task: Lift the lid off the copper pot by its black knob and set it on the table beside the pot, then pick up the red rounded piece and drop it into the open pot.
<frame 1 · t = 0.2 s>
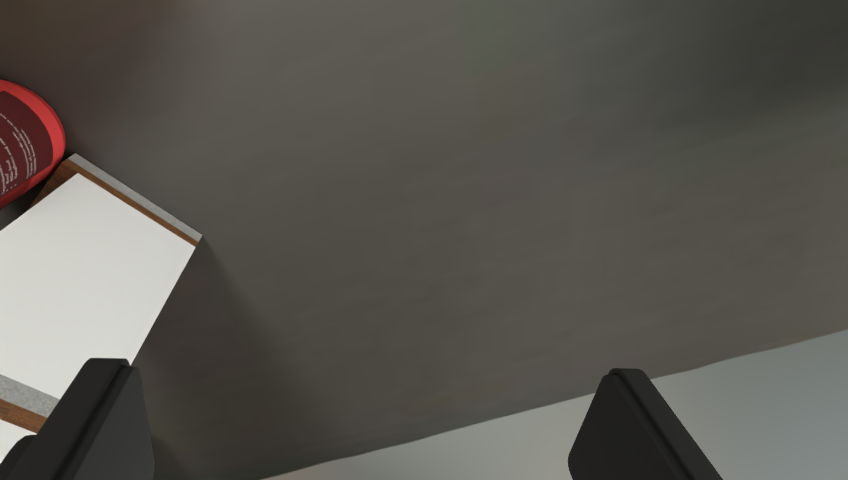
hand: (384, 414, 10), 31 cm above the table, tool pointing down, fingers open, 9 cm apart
canned food: (11, 129, 35), on the table
white shelf unit: (105, 242, 40), on the table
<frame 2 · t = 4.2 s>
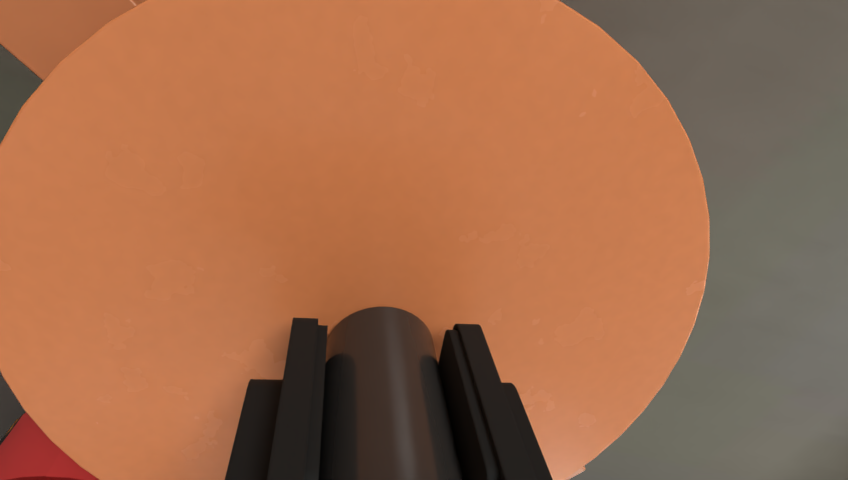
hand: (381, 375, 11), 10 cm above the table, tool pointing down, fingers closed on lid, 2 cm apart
pot: (367, 196, 20), on the table
canned food: (113, 434, 24), on the table
lid: (378, 332, 12), point 9 cm above the table, touching gripper, pot
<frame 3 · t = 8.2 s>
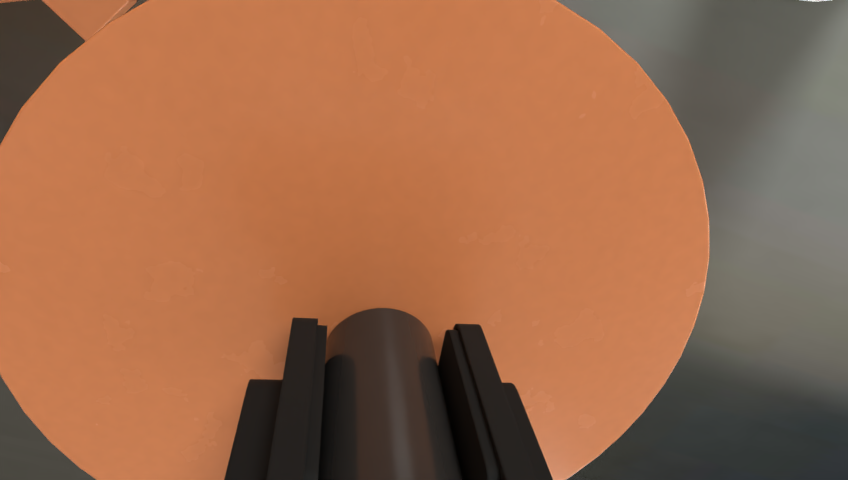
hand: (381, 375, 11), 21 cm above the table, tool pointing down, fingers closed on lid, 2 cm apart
lid: (377, 333, 12), point 20 cm above the table, touching gripper
when the fingers open (2 cm above the table, at t = 12.5 s): lid stays where it is, point 1 cm above the table.
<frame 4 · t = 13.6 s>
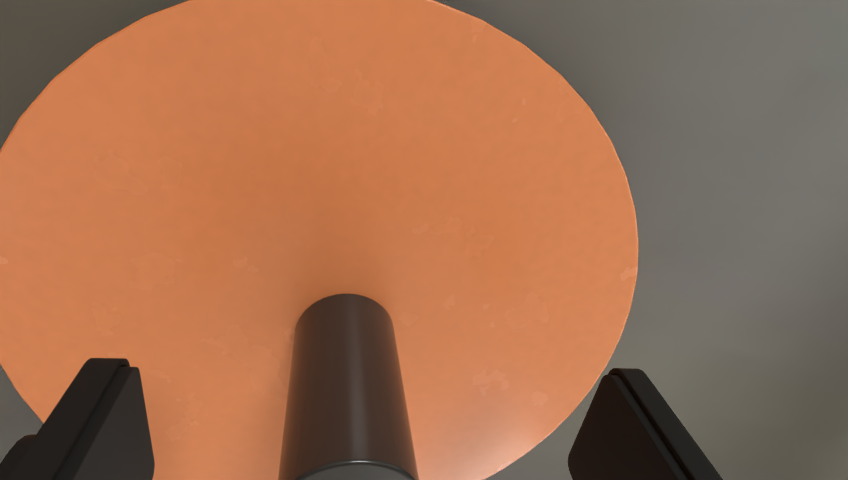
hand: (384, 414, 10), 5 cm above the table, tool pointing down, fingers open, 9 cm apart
lid: (344, 319, 13), point 1 cm above the table
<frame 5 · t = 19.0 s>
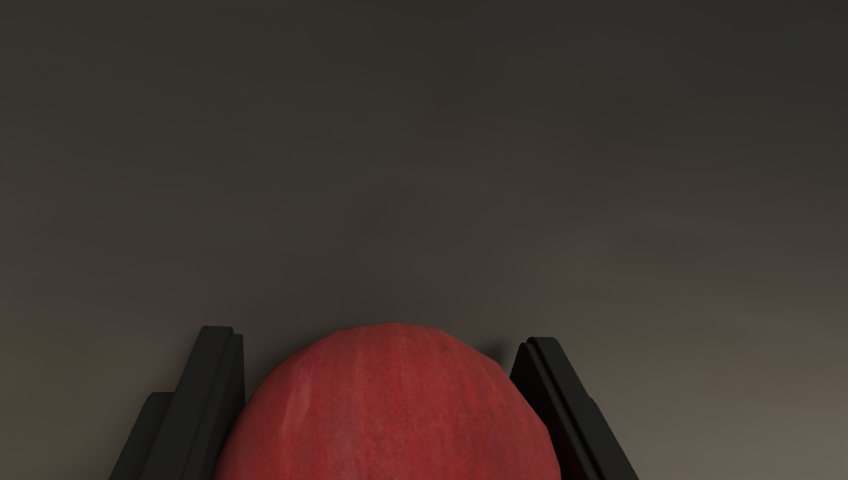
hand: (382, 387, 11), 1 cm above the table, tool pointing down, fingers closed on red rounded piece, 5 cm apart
red rounded piece: (378, 345, 12), on the table, touching gripper
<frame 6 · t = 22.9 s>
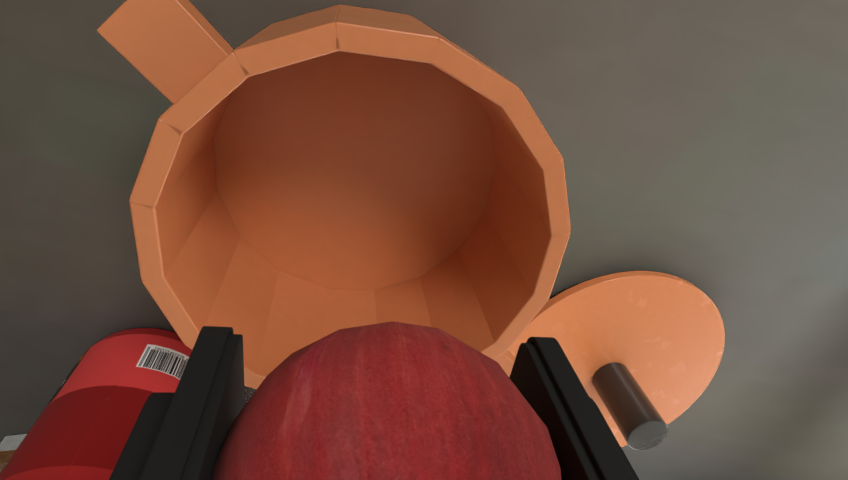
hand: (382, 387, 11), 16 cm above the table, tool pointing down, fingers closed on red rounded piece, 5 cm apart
pot: (360, 172, 25), on the table
canned food: (156, 370, 30), on the table
red rounded piece: (378, 345, 12), point 15 cm above the table, touching gripper
lid: (605, 369, 34), point 1 cm above the table
white shelf unit: (128, 475, 34), on the table
when the fingers open (3 cm above the table, at t = 26.6 s): red rounded piece drops 1 cm, resting on pot.
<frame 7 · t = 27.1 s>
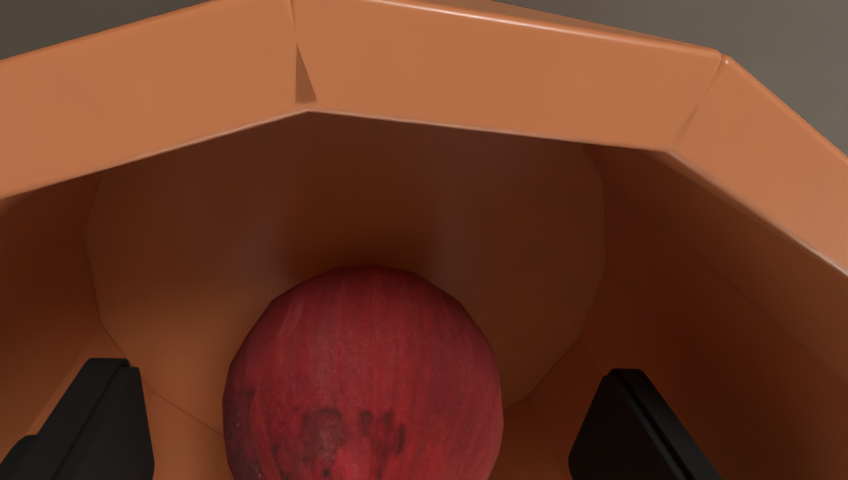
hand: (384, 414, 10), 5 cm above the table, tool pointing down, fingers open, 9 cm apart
pot: (366, 282, 14), on the table
red rounded piece: (373, 290, 14), resting on pot
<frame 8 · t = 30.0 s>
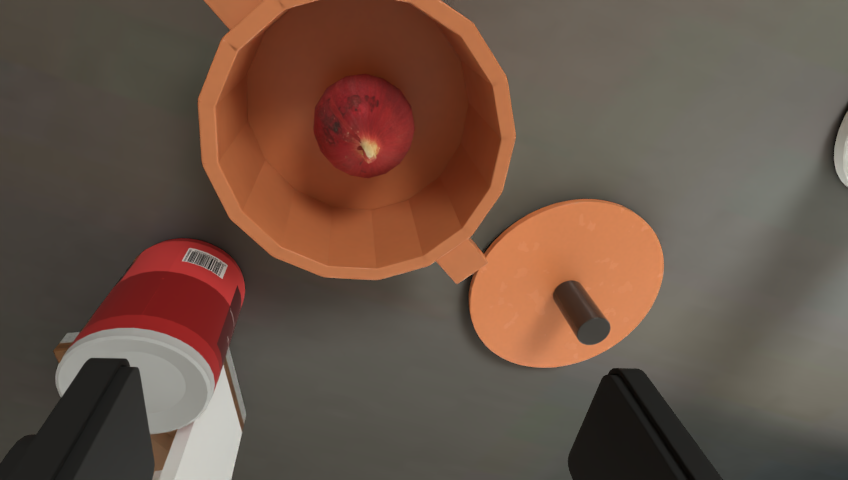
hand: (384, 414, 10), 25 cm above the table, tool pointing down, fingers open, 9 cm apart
pot: (360, 108, 32), on the table
canned food: (192, 277, 36), on the table
red rounded piece: (362, 109, 32), resting on pot
lid: (565, 288, 41), point 1 cm above the table
white shelf unit: (164, 374, 41), on the table
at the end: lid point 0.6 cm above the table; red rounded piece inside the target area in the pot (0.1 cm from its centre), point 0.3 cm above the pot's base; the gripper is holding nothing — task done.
